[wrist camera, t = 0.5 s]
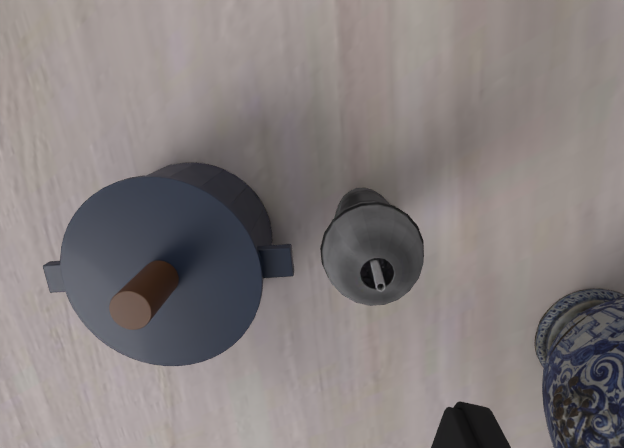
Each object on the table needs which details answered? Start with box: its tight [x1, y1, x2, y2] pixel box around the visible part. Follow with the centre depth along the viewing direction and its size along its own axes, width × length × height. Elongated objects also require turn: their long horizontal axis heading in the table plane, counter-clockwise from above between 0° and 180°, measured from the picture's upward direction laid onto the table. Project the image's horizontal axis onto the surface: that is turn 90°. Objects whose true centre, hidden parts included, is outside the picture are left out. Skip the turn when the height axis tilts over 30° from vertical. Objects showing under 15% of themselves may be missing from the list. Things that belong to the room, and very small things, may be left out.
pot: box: [43, 162, 294, 293], centre depth 40 cm, size 15×20×10 cm
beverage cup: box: [320, 188, 424, 306], centre depth 33 cm, size 7×7×20 cm
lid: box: [60, 175, 263, 366], centre depth 33 cm, size 16×16×7 cm
